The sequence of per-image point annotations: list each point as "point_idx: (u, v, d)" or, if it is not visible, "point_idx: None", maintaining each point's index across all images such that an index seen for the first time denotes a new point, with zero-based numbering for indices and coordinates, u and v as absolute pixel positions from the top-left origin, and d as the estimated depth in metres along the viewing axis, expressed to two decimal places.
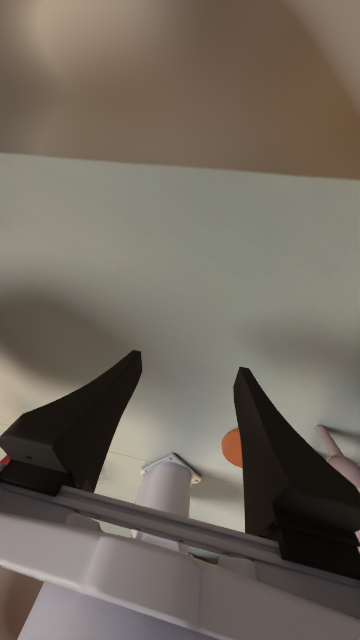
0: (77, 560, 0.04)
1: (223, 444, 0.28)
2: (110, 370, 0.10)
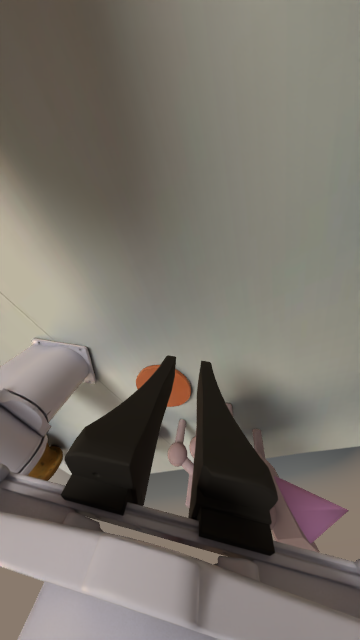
0: (77, 560, 0.04)
1: (145, 370, 0.26)
2: (152, 377, 0.10)
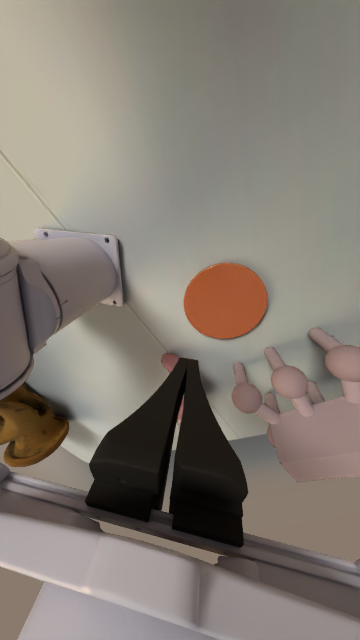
0: (77, 560, 0.04)
1: (203, 272, 0.18)
2: (168, 380, 0.10)
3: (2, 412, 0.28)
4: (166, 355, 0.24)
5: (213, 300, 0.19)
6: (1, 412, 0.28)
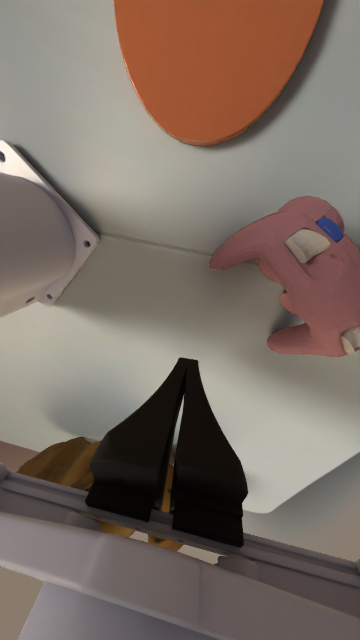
0: (77, 560, 0.04)
1: None
2: (168, 380, 0.10)
3: None
4: (213, 254, 0.12)
5: (185, 19, 0.08)
6: None
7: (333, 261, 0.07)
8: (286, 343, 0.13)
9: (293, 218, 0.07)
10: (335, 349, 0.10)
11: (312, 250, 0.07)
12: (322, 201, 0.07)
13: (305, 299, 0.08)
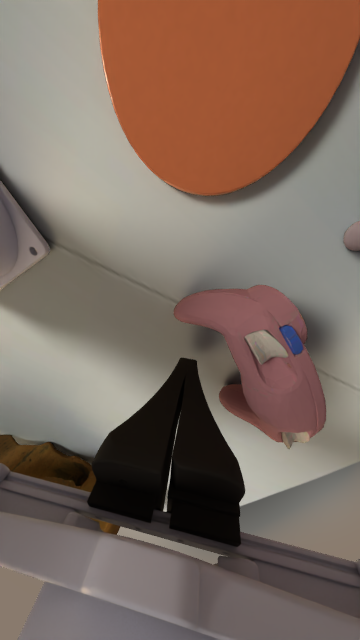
0: (77, 560, 0.04)
1: None
2: (169, 380, 0.10)
3: None
4: (180, 301, 0.11)
5: (184, 46, 0.06)
6: None
7: (288, 370, 0.07)
8: (235, 405, 0.12)
9: (259, 314, 0.06)
10: (274, 437, 0.09)
11: (270, 354, 0.07)
12: (292, 305, 0.06)
13: (253, 396, 0.07)
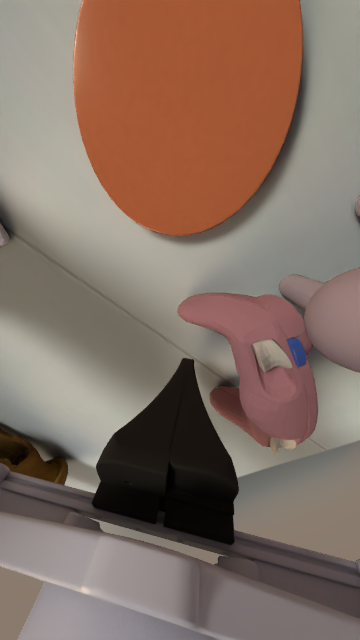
0: (77, 560, 0.04)
1: (82, 17, 0.06)
2: (172, 381, 0.10)
3: None
4: (185, 300, 0.11)
5: (146, 110, 0.07)
6: None
7: (288, 380, 0.07)
8: (225, 407, 0.13)
9: (269, 324, 0.07)
10: (262, 442, 0.10)
11: (274, 364, 0.07)
12: (301, 319, 0.07)
13: (251, 402, 0.08)
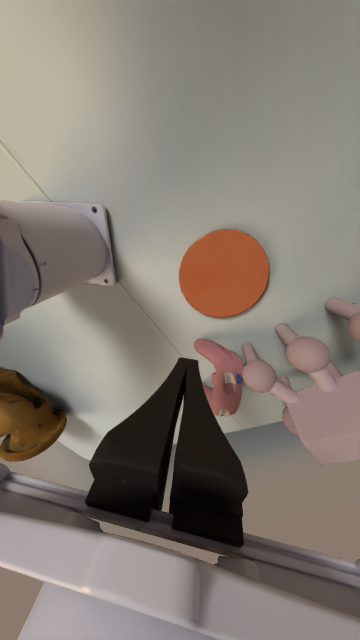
0: (77, 560, 0.04)
1: (198, 240, 0.16)
2: (168, 380, 0.10)
3: None
4: (199, 340, 0.21)
5: (210, 273, 0.18)
6: None
7: (233, 388, 0.19)
8: None
9: (232, 367, 0.18)
10: (215, 412, 0.21)
11: (230, 381, 0.18)
12: None
13: (217, 393, 0.19)
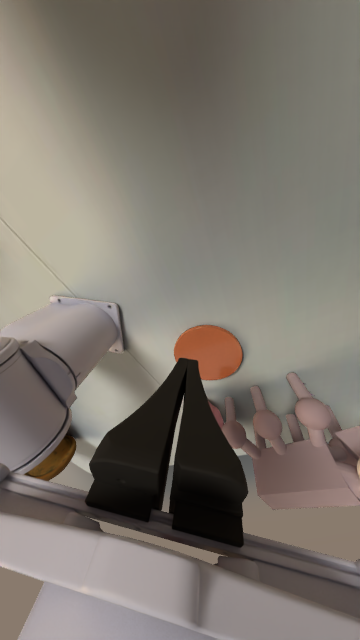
0: (77, 560, 0.04)
1: (189, 332, 0.22)
2: (168, 380, 0.10)
3: None
4: None
5: (198, 352, 0.23)
6: None
7: None
8: None
9: None
10: None
11: None
12: (223, 424, 0.23)
13: None
